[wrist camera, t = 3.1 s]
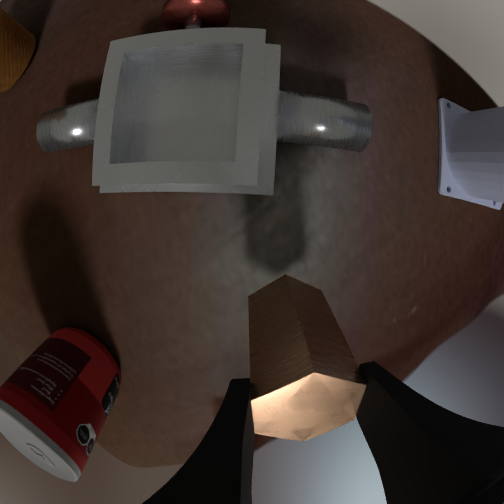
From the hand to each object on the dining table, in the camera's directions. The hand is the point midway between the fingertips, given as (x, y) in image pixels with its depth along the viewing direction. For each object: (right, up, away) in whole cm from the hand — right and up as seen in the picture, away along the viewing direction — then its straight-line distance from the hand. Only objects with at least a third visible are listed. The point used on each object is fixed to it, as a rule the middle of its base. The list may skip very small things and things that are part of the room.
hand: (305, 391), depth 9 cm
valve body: (-6, +14, +5) cm, 16 cm away
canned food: (-17, -5, +10) cm, 20 cm away
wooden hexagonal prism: (0, +2, +6) cm, 6 cm away
